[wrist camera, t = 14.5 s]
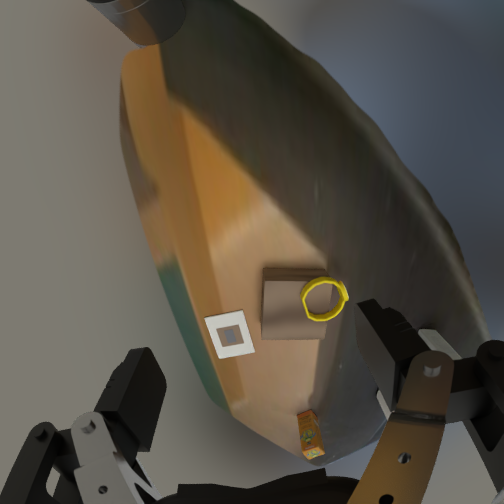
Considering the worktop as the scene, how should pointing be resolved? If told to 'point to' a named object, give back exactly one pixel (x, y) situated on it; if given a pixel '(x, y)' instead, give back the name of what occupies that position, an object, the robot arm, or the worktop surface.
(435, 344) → the skincare box
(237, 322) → the card
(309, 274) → the walnut block
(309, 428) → the supplement box
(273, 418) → the worktop surface
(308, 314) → the watch
